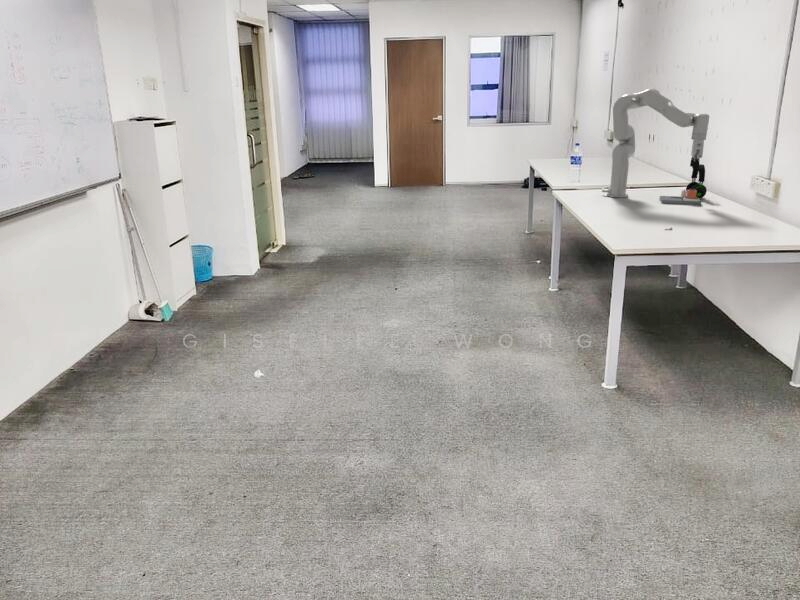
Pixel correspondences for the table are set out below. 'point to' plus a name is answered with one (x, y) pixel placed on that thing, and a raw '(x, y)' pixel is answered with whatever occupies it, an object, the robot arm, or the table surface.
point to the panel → (679, 200)
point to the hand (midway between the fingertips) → (694, 167)
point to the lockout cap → (691, 194)
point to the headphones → (699, 186)
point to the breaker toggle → (683, 193)
